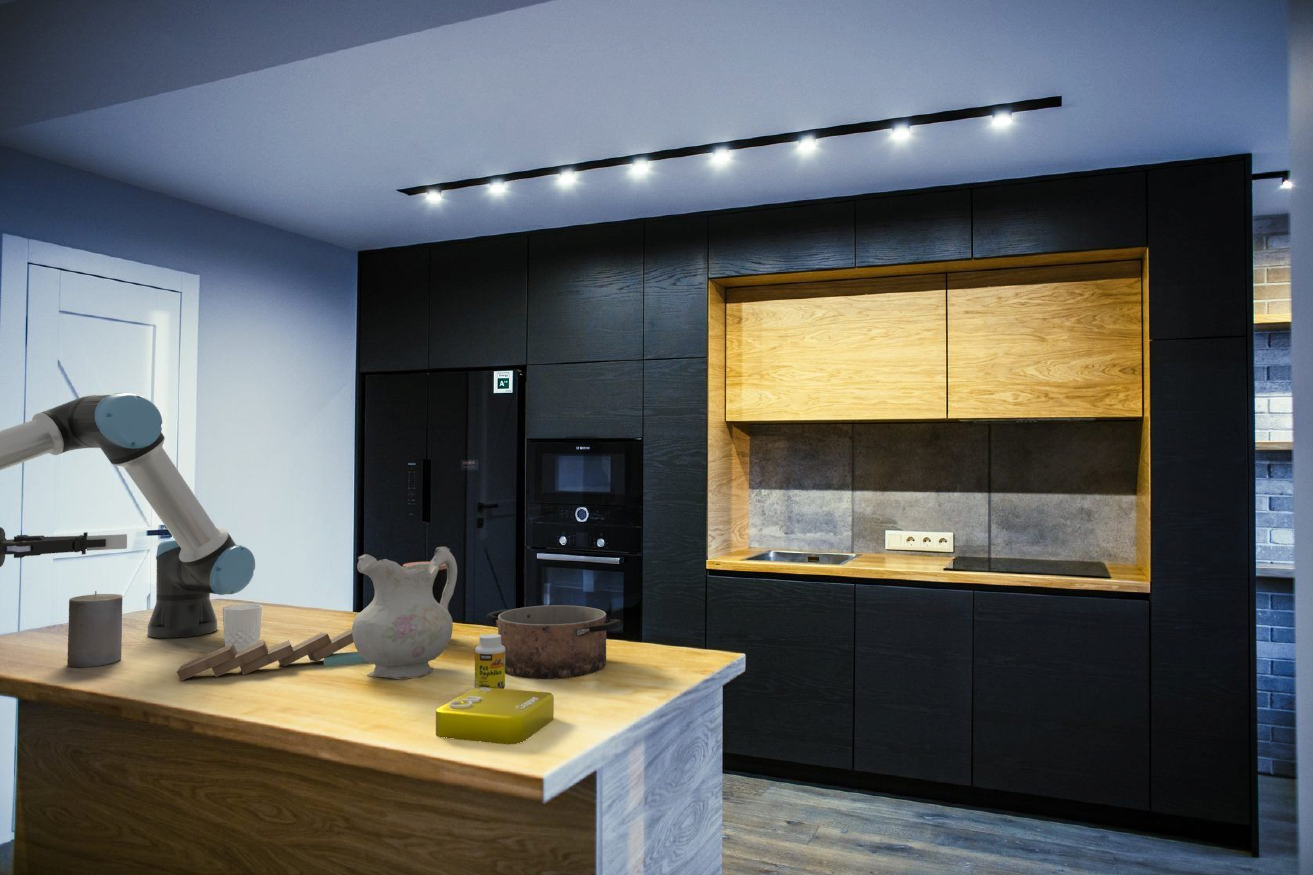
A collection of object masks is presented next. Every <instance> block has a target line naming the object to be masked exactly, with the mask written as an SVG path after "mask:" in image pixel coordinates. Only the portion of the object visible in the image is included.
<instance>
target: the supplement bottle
mask: <svg viewBox="0 0 1313 875" xmlns="http://www.w3.org/2000/svg"><path fill="white" fill-rule="evenodd" d="M478 638H479V641H478V643H479V644H478V645H477V646H476V647H475V649H474V689H475V688H478V687H488V688H500V689H506V688H505V687H506V673H505V647H504V646H503V645H501V635H499V634H498V633H487V634H486V633H484V634H481V635H479V637H478Z"/></svg>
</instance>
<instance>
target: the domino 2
mask: <svg viewBox="0 0 1313 875" xmlns="http://www.w3.org/2000/svg"><path fill="white" fill-rule="evenodd" d="M266 654H268V646H267V643H266V641H265V639H262V640H259V642H257V643H255V644H253V645H250V646H248V647H246V648H244V649H241V650H239V651H237V653H236V655H235V657H234V659H231V660H229V661H227V662H224V663H222V664H220V665H217V666H215V667H213V668H211V670H212V672H213V674H214V676H215V678H217V677H219V676H222V675H224V674H227V673H229V672H231V671H233V670H235V669H238V668H240V666H242V665H244V664H246V663H249V662H251V661H253V660H255V659H257V658H260V657H262V656H264V655H266Z"/></svg>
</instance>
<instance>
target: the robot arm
mask: <svg viewBox="0 0 1313 875" xmlns="http://www.w3.org/2000/svg"><path fill="white" fill-rule="evenodd" d="M162 424H163V418H162V415H161V412H160V410H159V408H158V407H157V406H156V405H155V403H153V401H151V400H149V399H148V398H147V397H144V396H142V395H138V394H135V393H129V392H128V393H127V392H116V393H112V394H97V395H96V394H94V395H93V394H92V395H90V394H89V395H85V396H81V397H78V398H76V399H73V400H70V401H68V402H66V403H63V404H60V405H57V406H55V407H52V408H49V409H47V410H44V411H41V412H39V413H36V414H34V415H33V416H32V419H31V420H28V421H26V422H23V423H21V424H18V425H17V424H16V425H14V426H11V427H8V428H5V429H2V430H0V471H2V470H5V469H8V468H11V467H14V466H17V465H19V464H22V463H24V462H28V461H30V460H33V459H36V458H39V457H42V456H44V455H47V454H50V455H53V456H58V455H61V454H63V453H66V452H70V451H74V450H81V449H83V450H84V449H92V448H93V449H100V450H101V451H102V453H103V454H104V455H105V456H106V458H107V459H108V461H109V463H110V464H111V465H113V466H117V467H118V466H119V467H122V468H123V469H124V470H125V472H126V473H127V474H128V475H129V477H130V478H131V480H132V481H133V482H134V484H135V485H136V487H137V488H138V489H139V491H140V492H141V494H142V495H143V497H144V498H145V500H146V501H147V502H148V504H149V505H150V506H151V507H152V509H153V510H154V512H155V514H156V515H157V516H158V518H159V519H160V521H161V522H162V523H163V525H164V527H165V528H166V529H167V530H168V532H169V534H170V535H171V536H172V538H173V539H171V540H164V541H161V542H160V543H159V544H158V545H157V550H156V554H155V560H156V583H155V584H156V587H155V588H156V590H155V591H156V593H155V594H156V598H155V600H156V601H155V605H154V608H153V611H152V613H151V617H150V619H149V621H148V624H147V636H148V637H150V638H157V639H171V638H172V639H173V638H175V639H176V638H177V639H178V638H186V637H196V636H200V635H202V636H203V635H206V634H211V633H213V632H215V631H217V630H218V619H217V616H216V613H215V609H214V607H213V605H212V602H211V594H213V595H218V596H224V595H234V594H237V593H240V592H241V591H242V590H244V589H245V588H247V586H248V585H249V584H250V582H252V579H253V576H254V572H255V569H256V559H255V556H254V554H253V552H252V551H251V550H250V549H249V548H248V547H246V546H244V545H240V544H236V542H235V541H234V540H233V538H232V536H231V535H230V533H229V532H228V531H227V529H224V528H218V527H216V525H215V524H214V523H213V522H214V521H212V519H211V518H210V516H209V514H207V511H206V510H205V508H204V507H203V506H202V504H201V503H200V501H199V500H198V498H197V497H196V495H195V494H194V492H193V491H192V489H191V488H190V486H189V485H188V483H187V481H185V479H184V478H183V476H182V475H181V473H180V471H179V470H178V468H177V466H175V464H174V463H173V461H172V459H171V458H170V457H169V455H168V454H167V452H166V450H165V449H164V447H163V444H164V442H165V439H166V437H165V436H164V433H163V432H162V430H163V427H162ZM126 549H128V534H126V533H125V534H124V533H122V534H103V535H101V534H100V535H88V532H83V534H82V535H81V534H80V535H65V536H63V535H60V536H59V535H58V536H57V535H56V536H45V535H28V534H19V535H18V534H17V535H16V536H13V538H12V539H11V538H10V539H7V538H6V532H5V529H4V528H3V527H2V526H0V568H1V567H2V566H3V565H4V563H5V560H6V555H7V556H8V555H13V558H14V559H21V558H24V557H34V556H35V557H36V556H37V557H38V556H41V555H46V554H47V555H48V554H60V553H61V554H63V553H80V552H81V555H86V554H87V552H89V551H103V550H104V551H105V550H106V551H108V550H110V551H111V550H126Z"/></svg>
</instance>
